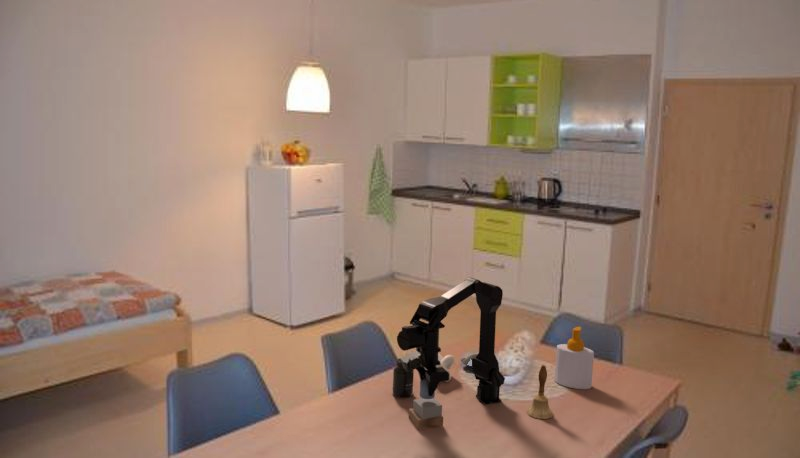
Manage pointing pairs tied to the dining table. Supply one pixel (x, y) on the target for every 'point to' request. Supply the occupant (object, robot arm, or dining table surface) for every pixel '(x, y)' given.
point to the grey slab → (427, 408)
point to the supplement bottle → (402, 381)
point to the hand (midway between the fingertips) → (427, 392)
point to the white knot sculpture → (446, 363)
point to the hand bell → (540, 399)
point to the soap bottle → (574, 363)
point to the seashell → (468, 359)
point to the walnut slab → (425, 421)
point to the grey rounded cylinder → (425, 390)
